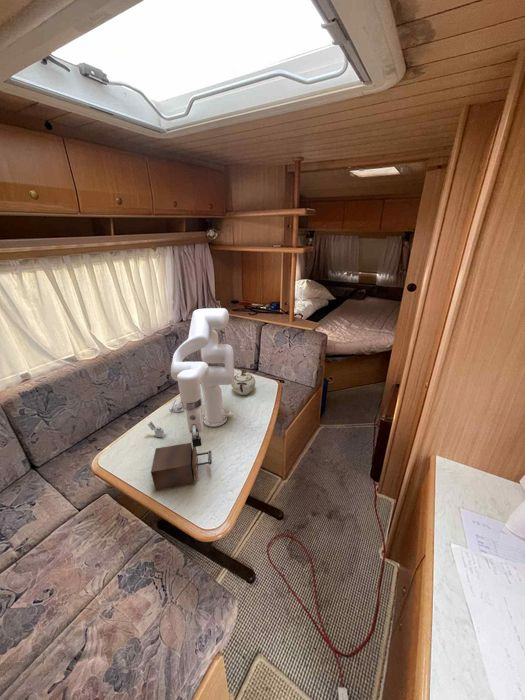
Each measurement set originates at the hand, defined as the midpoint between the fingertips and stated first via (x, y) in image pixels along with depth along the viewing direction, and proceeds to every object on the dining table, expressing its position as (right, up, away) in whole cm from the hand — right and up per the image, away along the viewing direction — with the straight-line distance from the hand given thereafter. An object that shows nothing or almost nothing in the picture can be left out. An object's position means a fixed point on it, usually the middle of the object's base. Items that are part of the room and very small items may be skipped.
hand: (197, 438), depth 109 cm
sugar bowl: (+14, +9, +63) cm, 65 cm away
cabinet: (-10, -17, +5) cm, 20 cm away
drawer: (-5, -15, +6) cm, 17 cm away
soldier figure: (-22, +1, +48) cm, 53 cm away
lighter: (-26, -8, +27) cm, 39 cm away
